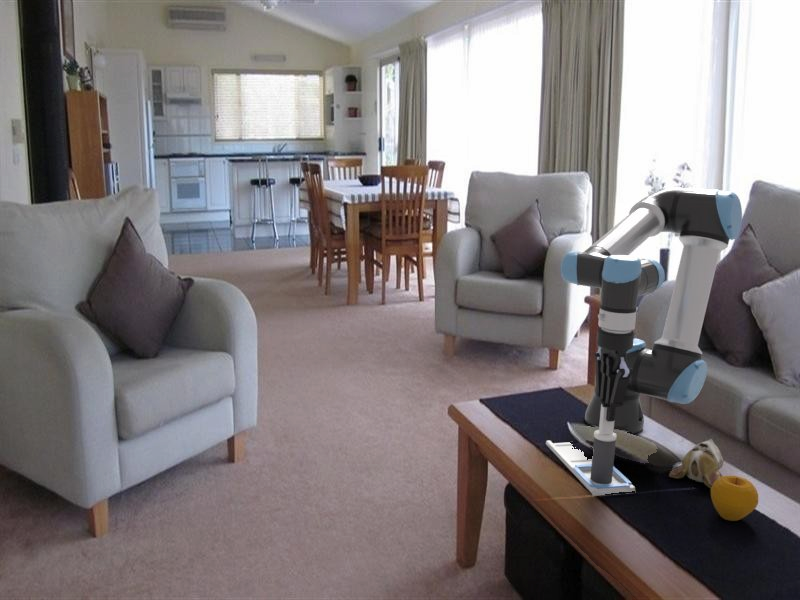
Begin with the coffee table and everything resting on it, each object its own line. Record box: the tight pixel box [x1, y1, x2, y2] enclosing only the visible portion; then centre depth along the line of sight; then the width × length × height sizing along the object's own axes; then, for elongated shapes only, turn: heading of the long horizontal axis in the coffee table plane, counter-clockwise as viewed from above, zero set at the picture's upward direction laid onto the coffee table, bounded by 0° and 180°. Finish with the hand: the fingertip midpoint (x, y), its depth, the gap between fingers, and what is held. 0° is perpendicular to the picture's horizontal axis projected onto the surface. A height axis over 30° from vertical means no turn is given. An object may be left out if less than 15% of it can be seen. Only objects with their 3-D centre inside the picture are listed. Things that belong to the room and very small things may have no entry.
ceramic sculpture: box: [668, 438, 724, 489], centre depth 166 cm, size 11×9×15 cm
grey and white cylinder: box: [591, 429, 618, 484], centre depth 163 cm, size 5×5×11 cm
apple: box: [710, 475, 759, 522], centre depth 149 cm, size 9×9×9 cm
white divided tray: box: [545, 440, 636, 497], centre depth 171 cm, size 10×26×2 cm, turn 12°
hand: (605, 432), depth 161 cm, fingers closed
